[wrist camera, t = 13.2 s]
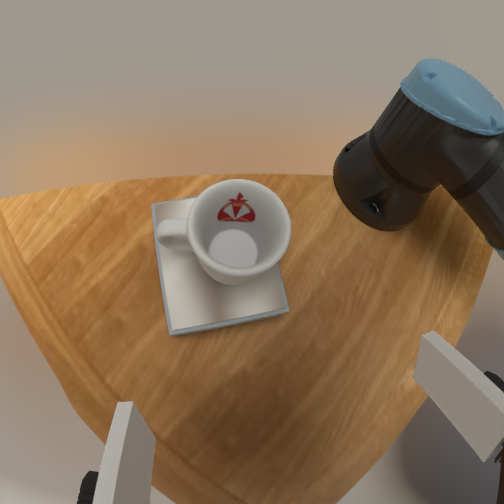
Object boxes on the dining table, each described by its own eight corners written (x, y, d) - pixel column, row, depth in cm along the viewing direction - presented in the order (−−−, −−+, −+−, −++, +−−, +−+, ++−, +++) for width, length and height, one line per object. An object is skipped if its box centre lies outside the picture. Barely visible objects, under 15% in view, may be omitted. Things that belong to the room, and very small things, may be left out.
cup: (161, 290, 27) (142, 270, 19) (169, 215, 29) (157, 173, 22) (272, 296, 28) (294, 277, 21) (271, 221, 31) (290, 182, 23)
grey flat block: (252, 206, 37) (258, 185, 32) (279, 315, 33) (290, 310, 28) (158, 221, 34) (150, 202, 30) (175, 336, 30) (168, 334, 26)
